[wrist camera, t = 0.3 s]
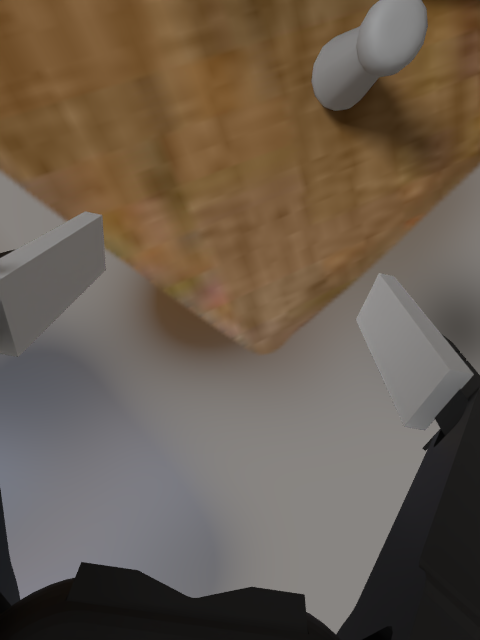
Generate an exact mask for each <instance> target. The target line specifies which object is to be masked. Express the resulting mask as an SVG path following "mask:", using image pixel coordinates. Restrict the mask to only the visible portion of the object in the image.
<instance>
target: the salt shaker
mask: <svg viewBox="0 0 480 640" xmlns="http://www.w3.org/2000/svg"><path fill="white" fill-rule="evenodd" d="M427 27H428V24H427V11H426V7H425V5H424V4H423V2H422V0H379V1H378V2H377V3H376V4H374V5H373V6H372V7H371V9H370V10H369V11H368V13H367V15H366V17H365V19H364V20H363V22H362V24H361V26H360V27H357V28H355V29H353V30H350V31H348V32H346V33H343V34H341V35H338V36H336V37H334V38H333V39H332V40H331V41H329V42H328V43H327V44H326V45H325V46H323V48H322V50H321V51H320V53H319V55H318V57H317V59H316V61H315V63H314V67H313V74H312V85H313V89H314V94H315V96H316V98H317V99H318V100H319V102H320V103H321V104H322V105H323V107H326V108H329V109H331V110H334V111H338V110H344V109H350V108H351V107H352V106H353V105H355V104H356V103H357V102H359V101H360V100H361V99H362V98H363V97H364V95H365V94H366V93H367V92H368V90H369V89H370V88H371V87H372V86H373V84H374V83H375V82H376V81H377V79H378V78H379V77H383V76H389V75H393V74H396V73H397V72H399V71H400V70H401V69H403V68H404V67H405V66H406V65H408V64H409V63H410V62H411V61H412V60H413V59H414V58H415V56H416V55H417V53H418V51H419V50H420V48H421V47H422V45H423V43H424V39H425V35H426V31H427Z"/></svg>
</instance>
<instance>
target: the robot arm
mask: <svg viewBox="0 0 480 640" xmlns="http://www.w3.org/2000/svg"><path fill="white" fill-rule="evenodd" d="M105 270H106V267H105V251H104V235H103V220H102V215H99V214H94V213H90V212H83V213H82V214H80V215H78V216H76V217H74V218H72V219H71V220H69V221H67V222H65V223H63V224H62V225H60V226H58V227H56V228H54V229H52V230H51V231H49V232H47V233H45V234H43V235H42V236H40V237H38V238H36V239H34V240H32V241H31V242H29V243H27V244H25V245H23V246H21V247H20V248H18V249H16V250H11V251H7V252H3V253H0V354H5V355H11V356H16V357H18V356H19V355H20V354H21V353H22V352H23V351H24V350H25V349H27V347H29V345H31V344H32V343H33V342H34V341H35V339H37V337H39V336H40V335H41V334H42V333H43V332H44V331H45V330H46V329H47V328H48V327H49V326H50V325H51V323H53V322H54V321H55V320H56V319H57V318H58V317H59V316H60V315H61V314H62V313H63V312H64V311H65V310H66V309H67V308H68V307H69V306H70V305H71V304H72V303H73V302H74V301H75V300H76V299H77V298H78V297H79V296H80V295H81V294H82V293H83V292H84V291H85V290H86V289H87V288H88V287H89V286H90V285H91V284H92V283H93V282H94V281H95V280H96V279H97V278H98V277H99V276H100V275H101V274H102V273H103V272H104V271H105ZM356 321H357V323H358V326H359V328H360V330H361V332H362V334H363V337H364V339H365V341H366V343H367V346H368V347H369V350H370V352H371V354H372V357H373V359H374V361H375V363H376V365H377V368H378V370H379V372H380V374H381V377H382V379H383V381H384V383H385V385H386V387H387V390H388V392H389V394H390V396H391V398H392V401H393V403H394V405H395V407H396V410H397V412H398V414H399V416H400V418H401V420H402V423H403V425H404V427H409V428H415V429H420V430H426V429H427V428H428V426H429V425H430V424H431V423H432V422H433V421H434V420H435V419H436V421H437V423H438V425H439V426H440V428H441V429H440V430H439V431H438V432H437V433H436V434H435V435H434V436H433V438H431V439H430V441H429V442H428V443H427V444H426V445H425V446H424V447H423V449H424V450H427V449H428V450H427V452H426V454H425V456H424V459H423V461H422V463H421V465H420V468H419V470H418V472H417V474H416V476H415V478H414V480H413V483H412V485H411V487H410V489H409V491H408V494H407V496H406V498H405V500H404V502H403V504H402V507H401V509H400V511H399V513H398V516H397V518H396V520H395V522H394V524H393V526H392V528H391V531H390V533H389V535H388V537H387V539H386V541H385V544H384V546H383V548H382V550H381V552H380V554H379V557H378V559H377V561H376V563H375V566H374V567H373V570H372V572H371V574H370V576H369V579H368V581H367V583H366V585H365V587H364V589H363V591H362V594H361V596H360V598H359V600H358V602H357V604H356V606H355V608H354V610H353V611H352V613H351V614H350V616H349V617H348V618H347V620H346V621H345V622H344V624H343V625H342V626H341V628H340V630H339V631H338V633H337V634H335V633H334V632H332V631H331V630H330V629H329V628H328V627H327V626H326V625H325V624H323V623H322V622H321V621H319V620H318V619H316V618H315V617H314V616H312V615H311V614H309V613H307V612H306V607H305V595H303V594H297V593H290V592H283V591H276V590H270V589H263V588H256V587H249V588H244V589H239V590H234V591H229V592H224V593H219V594H214V595H210V596H204V597H200V598H191V597H188V596H186V595H184V594H182V593H180V592H178V591H176V590H174V589H172V588H170V587H169V586H167V585H165V584H163V583H161V582H159V581H157V580H155V579H153V578H151V577H150V576H148V575H145V574H144V573H142V572H140V571H138V570H132V569H124V568H118V567H111V566H104V565H98V564H91V563H84V562H81V565H80V567H79V570H78V572H77V574H76V577H75V578H72V579H67V580H63V581H60V582H57V583H54V584H51V585H49V586H47V587H45V588H42V589H40V590H38V591H36V592H33V593H32V594H30V595H28V596H27V597H25V598H23V599H22V600H20V596H19V591H18V586H17V582H16V578H15V575H14V572H13V568H12V566H11V562H10V556H9V550H8V542H7V535H6V527H5V520H4V512H3V505H2V497H1V490H0V640H480V375H479V374H478V373H477V372H476V370H475V369H474V368H473V367H472V366H471V364H470V363H469V362H468V361H466V358H465V357H464V356H463V355H462V354H461V353H460V351H459V350H458V349H457V347H456V346H455V345H454V344H453V343H452V342H451V341H450V340H448V339H447V338H446V337H445V336H443V335H442V334H441V333H440V332H439V331H438V329H437V328H436V327H435V326H434V324H433V323H432V322H431V321H430V320H429V318H428V317H427V316H426V315H425V313H424V312H423V311H422V310H421V309H420V307H419V306H418V305H417V304H416V302H415V301H414V300H413V299H412V297H411V296H410V295H409V294H408V292H407V291H406V290H405V289H404V287H403V286H402V285H401V284H400V283H399V281H398V280H397V279H396V278H395V277H394V276H391V275H386V274H381V273H379V274H378V276H377V278H376V280H375V282H374V285H373V286H372V288H371V291H370V292H369V294H368V296H367V298H366V300H365V302H364V305H363V306H362V308H361V311H360V312H359V315H358V316H357V319H356Z"/></svg>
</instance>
